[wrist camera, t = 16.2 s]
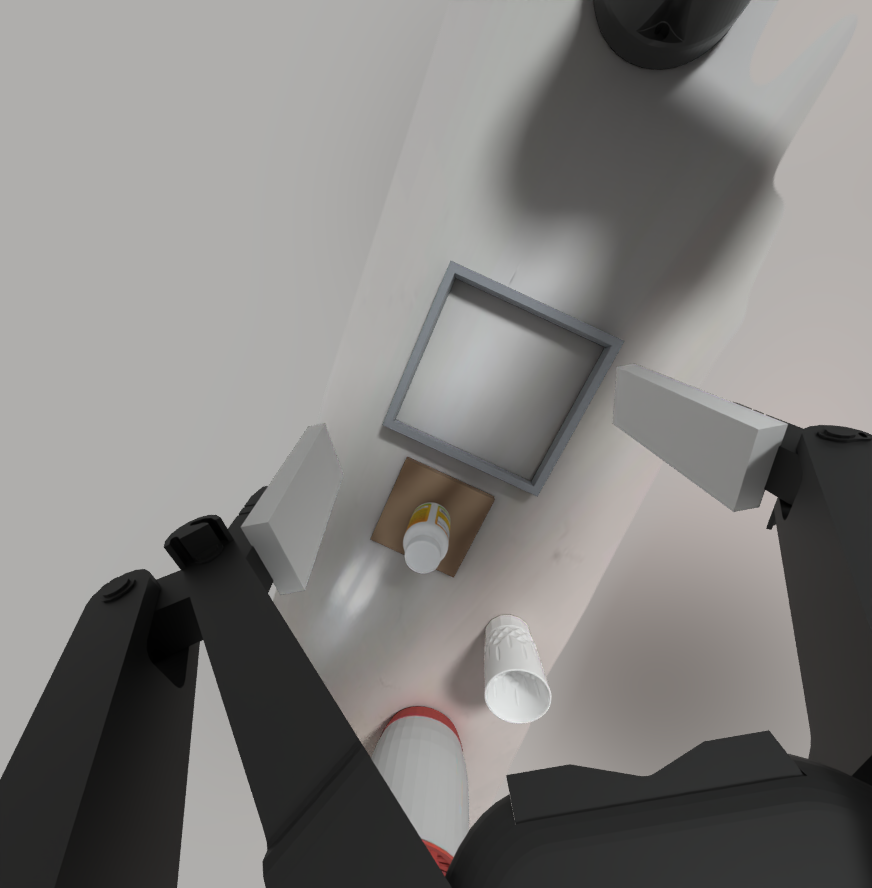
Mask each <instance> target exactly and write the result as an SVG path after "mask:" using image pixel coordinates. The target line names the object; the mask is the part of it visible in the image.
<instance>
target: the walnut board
mask: <svg viewBox="0 0 872 888" xmlns="http://www.w3.org/2000/svg"><path fill="white" fill-rule="evenodd" d="M494 500H495V499H494V496H492V495H490V494H488V493H485V492H483V491H481V490H479V489H477V488H475V487H472V486H470V485H468V484H466V483H464V482H461V481H459V480H457V479H455V478H453V477H451V476H448V475H446V474H444V473H442V472H440V471H438V470H435V469H433V468H431V467H429V466H427V465H425V464H422V463H420V462H418V461H416V460H414V459H412V458H409V457H407V458H406V460H405V462H404V465H403V467H402V469H401V471H400V474H399V476H398V478H397V480H396V483H395V485H394V487H393V489H392V492H391V494H390V496H389V498H388V501H387V503H386V505H385V507H384V510H383V512H382V514H381V516H380V519H379V521H378V523H377V525H376V528H375V530H374V532H373V534H372V537H371V540H373V541H375V542H377V543H380V544H382V545H384V546H386V547H388V548H391V549H393V550H395V551H397V552H399V553H401V554H404V555H405V551H404V547H403V539H404V535H405V532H406V530H407V527H408V525H409V522H410V519H411V517H412V514H413V512H414V511H415V509H416V508H417V507H418V506H420V505H422V504H424V503H429V502H431V503H437V504H439V505H441V506H443V507H444V508H445V509H446V510H447V512H448V513H449V516H450V521H451V524H450V534H449V545H448V551H447V553H446V555H445V557H444V558H443V559H442V560H441V561H440V563H439V565H438V567H437V568H436V570H438V571H441V572H443V573H445V574H447V575H449V576H451V577H454V576H455V574H456V572H457V570H458V568H459V566H460V565H461V563H462V561H463V559H464V557H465V555H466V553H467V551H468V549H469V548H470V546H471V544H472V542H473V540H474V538H475V536H476V534H477V532H478V530H479V529H480V527H481V525H482V523H483V521H484V519H485V517H486V515H487V513H488V512H489V510H490V508H491V506H492V504H493V502H494Z"/></svg>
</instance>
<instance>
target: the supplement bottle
mask: <svg viewBox="0 0 872 888" xmlns="http://www.w3.org/2000/svg"><path fill="white" fill-rule="evenodd" d="M450 524H451V521H450V516H449V513H448V512H447V510H446V509H445V508H444V507H443V506H441V505H439V504H437V503H431V502H429V503H424V504H422V505H420V506H418V507H417V508H416V509H415V511H414V512H413V514H412V517H411V519H410V522H409V525H408V527H407V530H406V532H405V535H404V539H403V547H404V551H405V561H406V564H407V565H408V567H409V568H410V569H411V570H413V571H415V572H417V573H421V574H425V573H430V572H432V571H434V570H435V569H436V568H437V567H438V565H439V563H440V561H441V560H442V559H443V558H444V557H445V555H446V553H447V551H448V545H449V534H450Z"/></svg>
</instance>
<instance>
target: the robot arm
mask: <svg viewBox="0 0 872 888" xmlns="http://www.w3.org/2000/svg"><path fill="white" fill-rule="evenodd" d="M750 1H751V0H594V7H595V13H596V18H597V21H598V24H599V27H600V30H601V32H602V34H603V36H604V38H605V39H606V41H607V42H608V44H609V45H610V46H611V48H612V49H613V50H614V51H615V52H616V53H617V54H618V55H619V56H621V57H622V58H623V59H625V60H626V61H628V62H630V63H632V64H634V65H637V66H640V67H644V68H649V69H666V68H672V67H676V66H680V65H683V64H685V63H688V62H690V61H692V60H694V59H696V58H697V57H699V56H701V55H702V54H704V53H705V52H707V51H708V50H709V49H710V48H712V47H713V46H714V45H715V44H716V43H717V42H718V41H719V40H720V39H721V38H722V37H723V36H724V35H725V34H726V33H727V31H728V30H729V29H730V28H731V26H732V25H733V24H734V22H735V21H736V20H737V18H738V17H739V16H740V15H741V13H742V12H743V11H744V9H745V8H746V6H747V5H748V4H749V2H750ZM613 424H614V425H615V426H617V427H618V428H620V429H621V430H622V431H624V432H625V433H626V434H628V435H629V436H630V437H632V438H633V439H635V440H636V441H637V442H639V443H640V444H641V445H643V446H644V447H646V448H647V449H648V450H650V451H651V452H652V453H654V454H655V455H656V456H658V457H659V458H661V459H662V460H663V461H665V462H666V463H667V464H669V465H670V466H671V467H673V468H674V469H676V470H677V471H678V472H680V473H681V474H683V475H684V476H685V477H687V478H688V479H689V480H691V481H692V482H693V483H695V484H696V485H698V486H699V487H700V488H702V489H703V490H704V491H706V492H707V493H708V494H710V495H711V496H712V497H714V498H715V499H717V500H718V501H720V502H721V503H722V504H724V505H725V506H726V507H728V508H729V509H730V510H732V511H733V512H736V511H740V510H746V509H752V508H757V507H759V506H760V503H761V500H762V497H763V495H764V492H765V490H767V491H769V492H770V493H772V494H774V495H775V496H777V497H778V498H777V501H776V504H775V506H774V509H773V511H772V514H771V517H770V519H769V522H768V525H767V529H772V527H773V525H777V531H778V537H779V543H780V550H781V556H782V562H783V568H784V574H785V580H786V586H787V591H788V598H789V604H790V610H791V616H792V622H793V629H794V635H795V641H796V647H797V653H798V659H799V665H800V671H801V677H802V683H803V689H804V695H805V702H806V707H807V713H808V720H809V726H810V732H811V748H810V754H809V759H806V758H802V757H798V756H795V755H791V754H787V753H786V751H785V750H784V749H783V748H782V746H781V745H780V744H779V742H778V741H777V740H776V739H775V737H774V736H773V735H772V734H771V732H770V731H763V732H757V733H751V734H746V735H740V736H734V737H728V738H722V739H716V740H711V741H705V742H703V743H701V744H700V745H698V746H696V747H695V748H693V749H692V750H690V751H689V752H687V753H685V754H684V755H683V756H681V757H679V758H678V759H676V760H675V761H673V762H672V763H670V764H668V765H667V766H665V767H664V768H662V769H661V770H659V771H658V772H656V773H654V774H652V775H650V776H636V775H630V774H624V773H618V772H611V771H606V770H600V769H594V768H587V767H582V766H576V765H564V766H558V767H552V768H546V769H540V770H535V771H529V772H523V773H517V774H511V775H506V776H507V781H508V787H509V792H510V795H507V796H506V797H504V798H502V799H501V800H499V801H498V802H496V803H495V804H494V805H493V806H491V807H490V808H489V809H488V810H487V811H486V812H485V813H483V814H482V816H481V817H480V818H479V819H478V820H477V821H476V823H475V824H474V825H473V826H472V827H471V829H470V830H469V832H468V833H467V835H466V836H465V838H464V839H463V841H462V843H461V844H460V846H459V847H458V849H457V851H456V853H455V855H454V858H453V860H452V862H451V864H450V866H449V868H448V870H447V873H446V875H445V876H444V874H443V873H442V871H441V869H440V868H439V866H438V865H437V863H436V861H435V860H434V858H433V857H432V855H431V853H430V852H429V850H428V849H427V847H426V845H425V844H424V842H423V841H422V839H421V837H420V836H419V834H418V833H417V831H416V829H415V828H414V826H413V825H412V823H411V822H410V820H409V818H408V817H407V815H406V814H405V812H404V810H403V809H402V807H401V806H400V804H399V802H398V801H397V799H396V798H395V796H394V794H393V793H392V791H391V790H390V788H389V786H388V785H387V783H386V782H385V780H384V778H383V777H382V775H381V774H380V772H379V770H378V769H377V767H376V766H375V764H374V762H373V761H372V759H371V758H370V756H369V754H368V753H367V751H366V750H365V748H364V746H363V745H362V743H361V742H360V740H359V739H358V737H357V736H356V734H355V732H354V731H353V729H352V728H351V726H350V724H349V723H348V721H347V720H346V718H345V716H344V715H343V713H342V711H341V710H340V708H339V707H338V705H337V703H336V702H335V700H334V699H333V697H332V695H331V694H330V692H329V691H328V689H327V687H326V686H325V684H324V683H323V681H322V679H321V678H320V676H319V675H318V673H317V671H316V670H315V668H314V667H313V665H312V663H311V662H310V660H309V659H308V657H307V655H306V654H305V652H304V651H303V649H302V647H301V646H300V644H299V643H298V641H297V639H296V638H295V636H294V635H293V633H292V631H291V630H290V628H289V627H288V625H287V623H286V622H285V620H284V619H283V617H282V615H281V614H280V612H279V611H278V609H277V607H276V606H275V604H274V603H273V601H272V600H271V598H270V596H269V595H268V592H269V590H270V588H271V585H272V583H274V585H275V586H276V588H277V590H278V591H279V593H280V595H284V594H289V593H295V592H300V591H305V589H306V586H307V583H308V580H309V577H310V574H311V571H312V568H313V565H314V562H315V559H316V556H317V553H318V550H319V547H320V544H321V541H322V538H323V535H324V532H325V529H326V526H327V523H328V520H329V517H330V514H331V511H332V508H333V505H334V502H335V499H336V496H337V493H338V490H339V487H340V484H341V481H342V478H343V475H344V474H343V471H342V468H341V466H340V463H339V460H338V457H337V455H336V452H335V449H334V446H333V444H332V441H331V438H330V435H329V433H328V430H327V427H326V425H325V423H324V424H319V425H314V426H309V427H308V428H307V429H306V431H305V432H304V434H303V435H302V437H301V438H300V440H299V441H298V443H297V444H296V446H295V447H294V449H293V450H292V452H291V453H290V454H289V456H288V458H287V459H286V461H285V462H284V464H283V465H282V466H281V468H280V469H279V471H278V472H277V474H276V475H275V477H274V478H273V480H272V481H271V483H270V484H269V486H265V487H262V488H261V489H260V490H258V491H257V492H256V493H255V494H254V495H253V496H251V498H250V499H249V501H248V502H247V503H246V505H245V508H243V509H242V510H241V511H240V513H239V516H237V517H236V519H235V520H234V521H233V523H232V524H231V525H230V527H229V528H228V529H227V527H226V526H225V524H224V522H223V521H222V519H221V518H220V517H219V516H217V515H207V516H203V517H200V518H197V519H195V520H193V521H190V522H188V523H186V524H185V525H183V526H181V527H180V528H178V529H177V530H176V531H174V532H173V533H172V534H171V535H170V536H169V537H168V539H167V540H166V541H165V544H164V548H165V549H166V551H167V552H168V553H169V555H170V556H171V557H172V558H173V560H174V561H175V563H176V564H177V565H178V566H179V568H180V569H181V570H180V571H177V572H175V573H172V574H170V575H167V576H165V577H162V578H160V579H157V580H156V579H155V578H154V577H153V576H152V574H151V573H150V572H149V571H147V570H145V569H141V570H135V571H132V572H129V573H126V574H124V575H122V576H120V577H117V578H115V579H113V580H111V581H110V583H107V584H105V585H104V586H103V587H102V588H101V589H100V590H99V591H98V592H97V593H96V594H94V595H93V596H92V598H91V599H90V601H89V602H88V603H87V605H86V606H85V609H84V611H83V613H82V615H81V617H80V619H79V621H78V623H77V625H76V627H75V629H74V631H73V633H72V635H71V637H70V639H69V641H68V643H67V645H66V647H65V649H64V652H63V653H62V655H61V657H60V659H59V661H58V663H57V665H56V667H55V670H54V672H53V674H52V676H51V678H50V680H49V682H48V684H47V686H46V688H45V690H44V692H43V694H42V696H41V698H40V700H39V702H38V704H37V706H36V708H35V710H34V712H33V714H32V716H31V718H30V720H29V722H28V724H27V727H26V728H25V731H24V733H23V735H22V737H21V739H20V741H19V743H18V745H17V747H16V749H15V751H14V753H13V755H12V757H11V759H10V761H9V763H8V765H7V767H6V769H5V771H4V773H3V775H2V777H1V779H0V888H177V882H178V871H179V861H180V849H181V838H182V828H183V817H184V807H185V796H186V785H187V774H188V763H189V753H190V741H191V730H192V720H193V709H194V699H195V698H194V697H195V688H196V677H197V667H198V655H199V645H200V641H202V640H204V643H205V646H206V650H207V653H208V656H209V659H210V662H211V665H212V669H213V671H214V674H215V678H216V681H217V684H218V687H219V690H220V693H221V697H222V700H223V703H224V706H225V710H226V712H227V716H228V719H229V722H230V725H231V728H232V731H233V735H234V738H235V741H236V744H237V747H238V751H239V754H240V757H241V760H242V763H243V766H244V769H245V773H246V775H247V779H248V782H249V785H250V788H251V792H252V794H253V798H254V801H255V804H256V807H257V810H258V814H259V817H260V820H261V823H262V826H263V829H264V833H265V837H266V841H267V853H266V855H265V857H264V860H263V877H264V882H265V886H266V888H872V435H871V434H869V433H866V432H863V431H860V430H856V429H852V428H848V427H841V426H831V425H818V426H810V427H807V428H805V429H802V428H800V427H797V426H795V425H792V424H790V423H787V422H785V421H782V420H779V419H777V418H774V417H772V416H769V415H764V414H763V413H761V412H759V411H756V410H752V409H751V408H749V407H746V406H743V405H741V404H738V403H735V402H731V401H728V400H726V399H723V398H721V397H718V396H716V395H713V394H711V393H708V392H705V391H703V390H701V389H698V388H695V387H693V386H690V385H688V384H685V383H683V382H680V381H678V380H675V379H673V378H670V377H667V376H665V375H662V374H660V373H657V372H655V371H652V370H650V369H647V368H645V367H642V366H639V365H637V364H629V365H624V366H618V367H617V372H616V385H615V398H614V411H613ZM510 797H511V799H510ZM511 803H512V805H511ZM512 808H513V810H512ZM513 813H514V815H513ZM514 818H515V820H514Z"/></svg>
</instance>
